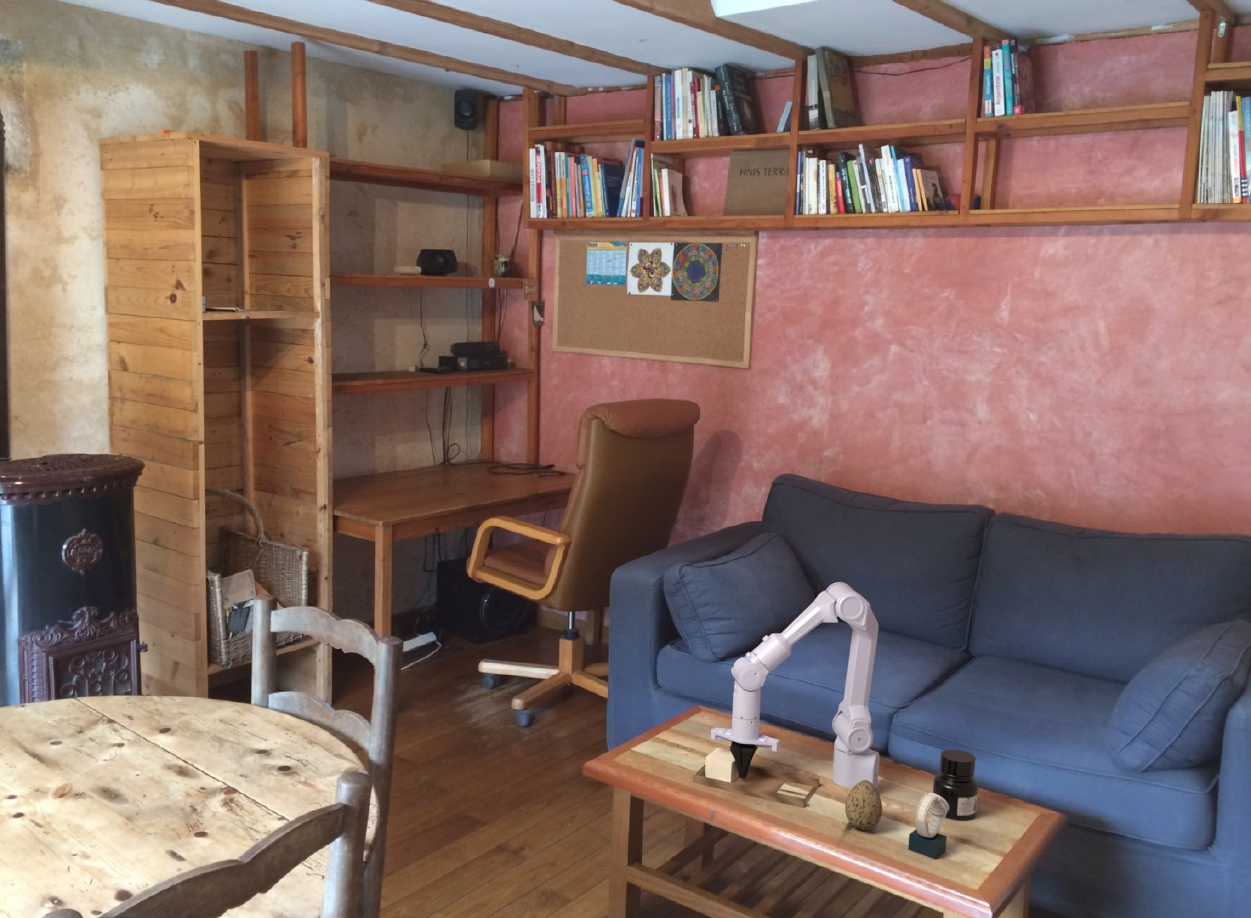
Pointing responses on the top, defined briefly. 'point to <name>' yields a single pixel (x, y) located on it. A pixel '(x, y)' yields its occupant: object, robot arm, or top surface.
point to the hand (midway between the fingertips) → (742, 776)
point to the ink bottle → (957, 784)
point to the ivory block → (721, 765)
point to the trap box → (762, 785)
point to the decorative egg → (863, 806)
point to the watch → (929, 827)
